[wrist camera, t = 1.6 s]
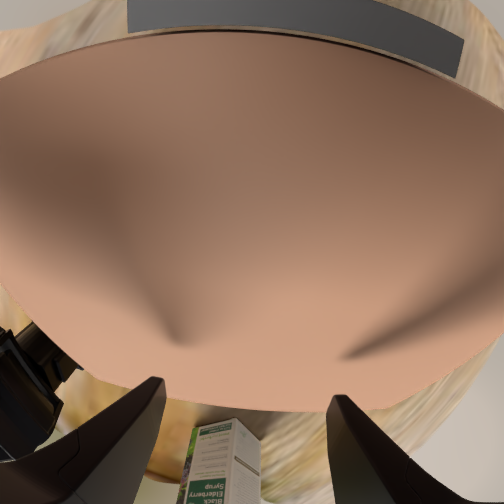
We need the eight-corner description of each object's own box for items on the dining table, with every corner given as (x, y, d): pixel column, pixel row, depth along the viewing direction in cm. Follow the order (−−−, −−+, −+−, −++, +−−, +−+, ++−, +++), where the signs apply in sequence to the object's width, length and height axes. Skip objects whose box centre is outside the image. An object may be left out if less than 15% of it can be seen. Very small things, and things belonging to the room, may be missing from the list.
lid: (103, 357, 17) (96, 381, 16) (-47, 84, 3) (-89, 116, 2) (385, 385, 17) (387, 410, 16) (585, 154, 3) (618, 193, 2)
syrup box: (236, 415, 26) (222, 541, 12) (263, 442, 27) (260, 552, 13) (192, 426, 27) (165, 537, 13) (221, 451, 28) (207, 552, 14)
